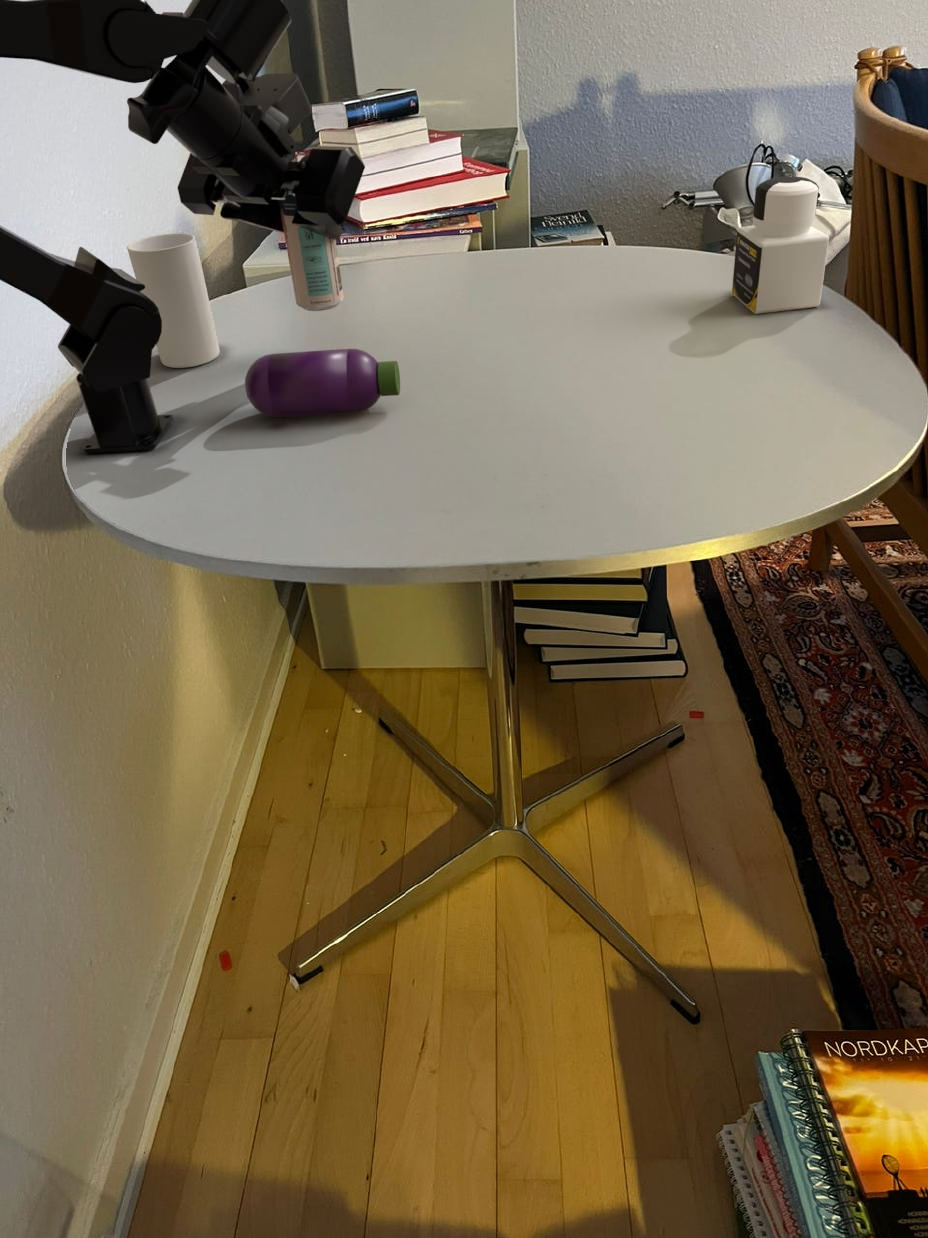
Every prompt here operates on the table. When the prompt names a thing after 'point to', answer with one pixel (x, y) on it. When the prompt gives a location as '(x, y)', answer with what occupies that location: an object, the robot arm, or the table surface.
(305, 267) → the pink upright cylinder
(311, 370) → the eggplant
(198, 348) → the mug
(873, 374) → the table surface
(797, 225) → the medicine bottle
